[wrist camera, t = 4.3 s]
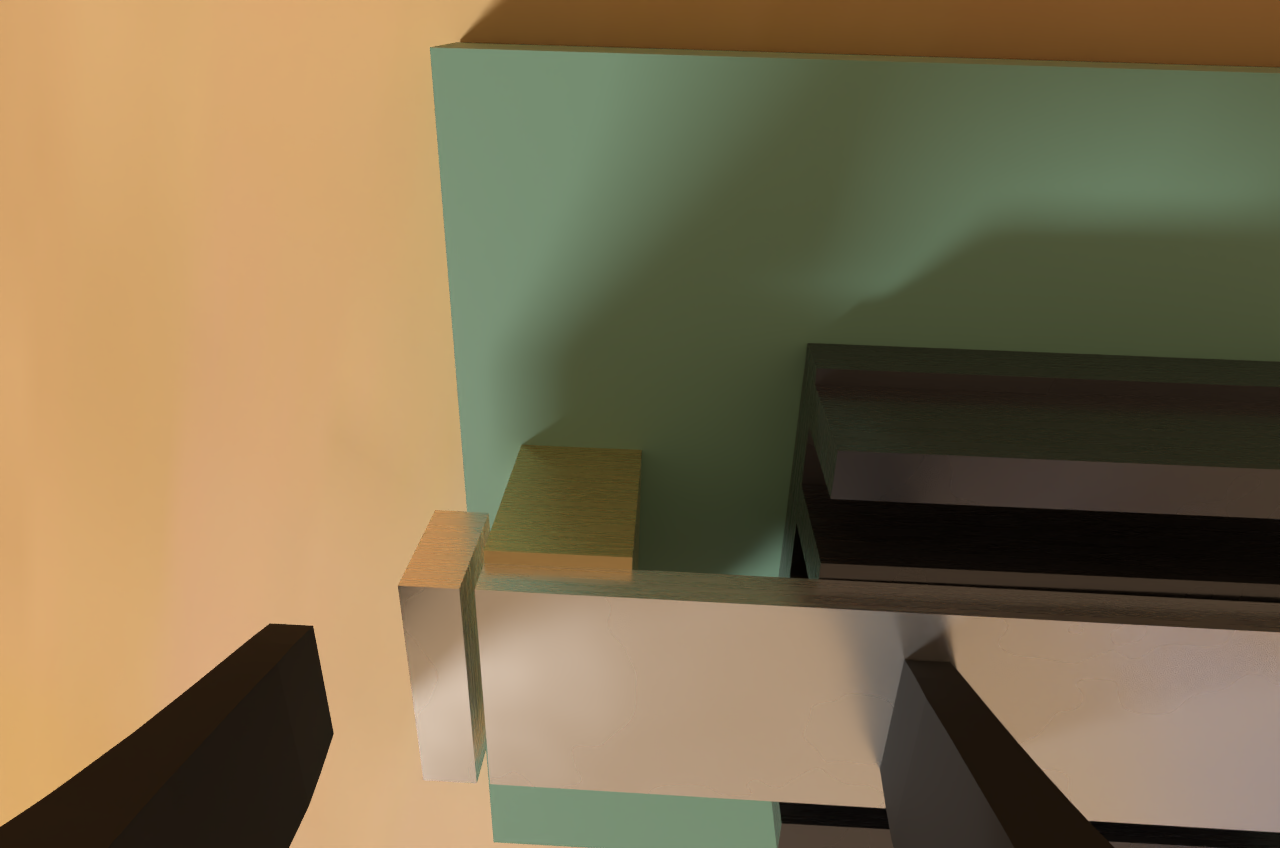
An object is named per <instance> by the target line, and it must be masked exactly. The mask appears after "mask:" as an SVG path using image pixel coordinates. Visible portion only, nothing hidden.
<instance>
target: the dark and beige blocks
mask: <svg viewBox="0 0 1280 848" xmlns="http://www.w3.org/2000/svg"><path fill="white" fill-rule="evenodd" d="M641 456H642V450H631V449H608V448H584V447H561V446H538V445H521V447H520V450H519V453H518V456H517V458H516V461H515V464H514V467H513V470H512V472H511V475H510V478H509V481H508V484H507V486H506V489H505V492H504V495H503V498H502V500H501V503H500V506H499V509H498V511H497V514H496V517H495V520H494V523H493V525H492V528H491V531H490V534H489V537H488V539H487V542H486V545H485V548H484V550H483V551H484V563H501V564H522V565H543V566H565V567H586V568H607V569H628V570H638V555H639V522H640V489H641ZM778 577H784V578H803V579H822V580H842V581H861V582H880V583H899V584H919V585H938V586H957V587H976V588H995V589H1015V590H1034V591H1053V592H1072V593H1092V594H1111V595H1130V596H1149V597H1168V598H1188V599H1207V600H1226V601H1245V602H1265V603H1280V362H1276V361H1251V360H1225V359H1200V358H1175V357H1150V356H1124V355H1099V354H1074V353H1049V352H1024V351H998V350H973V349H948V348H923V347H897V346H872V345H847V344H822V343H807V350H806V358H805V367H804V375H803V383H802V391H801V399H800V407H799V415H798V423H797V431H796V439H795V447H794V455H793V463H792V471H791V479H790V487H789V496H788V504H787V512H786V520H785V528H784V536H783V544H782V552H781V560H780V568H779V576H778ZM771 802H772V811H773V819H774V828H775V837H776V846H777V848H894V847H893V844H892V840H891V834H890V828H889V823H888V817H887V811H886V808H872V807H855V806H839V805H822V804H806V803H790V802H773V801H771ZM1089 822H1090V823H1091V824H1092V825H1093V826H1094V827H1095V828H1096V829H1097V830H1098V831H1099V832H1100V833H1101V834H1102V835H1103V836H1104V837H1105V838H1106V839H1107V840H1108V841H1109V842H1110V844H1111V845H1112V846H1113V847H1114V848H1280V832H1264V831H1247V830H1231V829H1215V828H1198V827H1182V826H1166V825H1149V824H1133V823H1117V822H1100V821H1089Z"/></svg>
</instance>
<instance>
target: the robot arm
mask: <svg viewBox="0 0 1280 848" xmlns="http://www.w3.org/2000/svg"><path fill="white" fill-rule="evenodd" d="M333 734H334V733H333V728H332V723H331V717H330V712H329V707H328V702H327V696H326V691H325V686H324V681H323V676H322V670H321V665H320V660H319V655H318V649H317V644H316V639H315V634H314V629H313V626H305V625H286V624H269V625H267V626H266V627H265V628H264V629H262V630H261V631H260V632H258V633H257V634H256V635H254V636H253V637H252V638H251V639H249V640H248V641H247V642H246V643H244V644H243V645H242V646H241V647H240V648H238V649H237V650H236V651H235V652H233V653H232V654H231V655H230V656H228V657H227V658H226V659H225V660H224V661H222V662H221V663H220V664H219V665H217V666H216V667H215V668H214V669H213V670H211V671H210V672H209V673H208V674H206V675H205V676H204V677H203V678H202V679H200V680H199V681H198V682H197V683H195V684H194V685H193V686H192V687H190V688H189V689H188V690H187V691H185V692H184V693H183V694H182V695H180V696H179V697H178V698H177V699H175V700H174V701H173V702H172V703H170V704H169V705H168V706H166V707H165V708H164V709H163V710H161V711H160V712H159V713H158V714H156V715H155V716H154V717H153V718H151V719H150V720H149V721H148V722H146V723H145V724H144V725H143V726H141V727H140V728H139V729H137V730H136V731H135V732H134V733H132V734H131V735H130V736H128V737H127V738H125V739H124V740H123V741H121V742H120V743H119V744H117V745H116V746H115V747H113V748H112V749H110V750H109V751H108V752H106V753H105V754H104V755H102V756H101V757H100V758H98V759H97V760H95V761H94V762H93V763H91V764H90V765H89V766H87V767H86V768H85V769H83V770H82V771H81V772H79V773H78V774H76V775H75V776H74V777H72V778H71V779H70V780H68V781H67V782H66V783H64V784H63V785H61V786H60V787H59V788H57V789H56V790H55V791H53V792H52V793H50V794H49V795H47V796H46V797H44V798H43V799H42V800H40V801H39V802H37V803H36V804H34V805H33V806H31V807H30V808H28V809H27V810H25V811H24V812H22V813H21V814H19V815H18V816H16V817H15V818H13V819H12V820H10V821H9V822H7V823H6V824H4V825H3V826H1V827H0V848H289V846H290V844H291V842H292V840H293V838H294V836H295V834H296V832H297V830H298V828H299V826H300V824H301V821H302V819H303V817H304V815H305V813H306V811H307V809H308V806H309V804H310V801H311V798H312V796H313V793H314V790H315V787H316V784H317V782H318V779H319V776H320V773H321V770H322V767H323V764H324V761H325V758H326V755H327V752H328V749H329V746H330V743H331V740H332V737H333ZM880 774H881V780H882V787H883V793H884V799H885V806H886V811H887V817H888V823H889V828H890V834H891V840H892V844H893V847H894V848H1114V847H1113V846H1112V845H1111V844H1110V842H1109V841H1108V840H1107V839H1106V838H1105V837H1104V836H1103V835H1102V834H1101V833H1100V832H1099V831H1098V830H1097V829H1096V828H1095V827H1094V826H1093V825H1092V824H1091V823H1090V822H1089V821H1088V820H1087V819H1086V818H1085V817H1084V816H1083V815H1082V813H1081V812H1080V811H1079V810H1078V809H1077V808H1076V807H1075V806H1074V805H1073V804H1072V803H1071V802H1070V801H1069V799H1068V798H1067V797H1066V796H1065V795H1064V794H1063V793H1062V792H1061V791H1060V789H1059V788H1058V787H1057V786H1056V785H1055V784H1054V783H1053V782H1052V780H1051V779H1050V778H1049V777H1048V776H1047V775H1046V774H1045V773H1044V772H1043V770H1042V769H1041V768H1040V767H1039V766H1038V765H1037V764H1036V763H1035V762H1034V760H1033V759H1032V758H1031V757H1030V756H1029V755H1028V753H1027V752H1026V751H1025V750H1024V749H1023V748H1022V747H1021V745H1020V744H1019V743H1018V742H1017V741H1016V740H1015V738H1014V737H1013V736H1012V735H1011V734H1010V732H1009V731H1008V730H1007V729H1006V728H1005V726H1004V725H1003V724H1002V723H1001V722H1000V721H999V719H998V718H997V717H996V716H995V715H994V713H993V712H992V711H991V710H990V709H989V707H988V706H987V705H986V704H985V703H984V701H983V700H982V699H981V698H980V697H979V695H978V694H977V693H976V692H975V690H974V689H973V688H972V687H971V686H970V684H969V683H968V682H967V681H966V680H965V678H964V677H963V676H962V675H961V674H960V672H959V671H958V670H957V669H956V668H955V667H954V666H953V664H952V663H951V662H943V661H923V660H904V663H903V668H902V672H901V677H900V681H899V686H898V690H897V695H896V699H895V704H894V708H893V713H892V717H891V722H890V726H889V731H888V735H887V740H886V744H885V749H884V753H883V758H882V762H881V767H880Z"/></svg>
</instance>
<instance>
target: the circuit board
mask: <svg viewBox="0 0 1280 848" xmlns="http://www.w3.org/2000/svg"><path fill="white" fill-rule="evenodd" d="M430 54H431V66H432V79H433V91H434V104H435V116H436V129H437V141H438V154H439V166H440V179H441V191H442V204H443V216H444V228H445V241H446V253H447V266H448V278H449V291H450V303H451V316H452V328H453V341H454V353H455V366H456V378H457V390H458V403H459V415H460V428H461V440H462V453H463V465H464V478H465V490H466V503H467V512H481V513H489V523H490V531H491V528H492V525H493V523H494V520H495V517H496V514H497V511H498V509H499V506H500V503H501V500H502V498H503V495H504V492H505V489H506V486H507V484H508V481H509V478H510V475H511V472H512V470H513V467H514V464H515V461H516V458H517V456H518V453H519V450H520V447H521V445H538V446H561V447H584V448H608V449H631V450H642V456H641V489H640V522H639V555H638V570H649V571H669V572H688V573H707V574H726V575H746V576H765V577H778V576H779V568H780V560H781V552H782V544H783V536H784V528H785V520H786V512H787V504H788V496H789V487H790V479H791V471H792V463H793V455H794V447H795V439H796V431H797V423H798V415H799V407H800V399H801V391H802V383H803V375H804V367H805V358H806V350H807V343H822V344H847V345H872V346H897V347H923V348H948V349H973V350H998V351H1024V352H1049V353H1074V354H1099V355H1124V356H1150V357H1175V358H1200V359H1225V360H1251V361H1276V362H1280V67H1251V66H1218V65H1185V64H1152V63H1119V62H1086V61H1053V60H1020V59H987V58H954V57H921V56H888V55H855V54H822V53H789V52H755V51H722V50H689V49H656V48H623V47H590V46H557V45H524V44H491V43H458V42H456V43H451V44H446V45H440V46H435V47H430ZM486 752H487V747H486ZM487 764H488V752H487ZM488 777H489V765H488ZM489 789H490V802H491V814H492V827H493V839H494V842H500V843H517V844H535V845H553V846H571V847H588V848H777V846H776V837H775V828H774V819H773V811H772V802H771V801H757V800H741V799H724V798H708V797H692V796H675V795H659V794H643V793H626V792H610V791H594V790H577V789H561V788H545V787H528V786H512V785H496V784H490V777H489Z"/></svg>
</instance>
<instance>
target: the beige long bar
mask: <svg viewBox="0 0 1280 848" xmlns="http://www.w3.org/2000/svg"><path fill="white" fill-rule="evenodd" d="M489 534H490V523H489V513H481V512H461V511H441V510H435V512H434V514H433V516H432V518H431V520H430V522H429V524H428V526H427V528H426V530H425V532H424V534H423V536H422V538H421V540H420V542H419V544H418V546H417V548H416V550H415V552H414V554H413V556H412V558H411V560H410V562H409V564H408V566H407V568H406V570H405V572H404V574H403V577H402V579H401V581H400V583H399V585H398V590H399V597H400V605H401V613H402V620H403V628H404V636H405V643H406V651H407V658H408V666H409V674H410V681H411V689H412V697H413V704H414V712H415V720H416V727H417V735H418V743H419V750H420V758H421V766H422V773H423V780H430V781H447V782H463V783H477V780H478V777H479V773H480V769H481V766H482V762H483V758H484V754H485V751H486V747H487V752H488V765H489V777H490V784H496V785H512V786H528V787H545V788H561V789H577V790H594V791H610V792H626V793H643V794H659V795H675V796H692V797H708V798H724V799H741V800H757V801H773V802H790V803H806V804H822V805H839V806H855V807H872V808H886V806H885V799H884V793H883V787H882V780H881V774H880V767H881V762H882V758H883V753H884V749H885V744H886V740H887V735H888V731H889V726H890V722H891V717H892V713H893V708H894V704H895V699H896V695H897V690H898V686H899V681H900V677H901V672H902V668H903V663H904V660H923V661H943V662H951V663H952V664H953V666H954V667H955V668H956V669H957V670H958V671H959V672H960V674H961V675H962V676H963V677H964V678H965V680H966V681H967V682H968V683H969V684H970V686H971V687H972V688H973V689H974V690H975V692H976V693H977V694H978V695H979V697H980V698H981V699H982V700H983V701H984V703H985V704H986V705H987V706H988V707H989V709H990V710H991V711H992V712H993V713H994V715H995V716H996V717H997V718H998V719H999V721H1000V722H1001V723H1002V724H1003V725H1004V726H1005V728H1006V729H1007V730H1008V731H1009V732H1010V734H1011V735H1012V736H1013V737H1014V738H1015V740H1016V741H1017V742H1018V743H1019V744H1020V745H1021V747H1022V748H1023V749H1024V750H1025V751H1026V752H1027V753H1028V755H1029V756H1030V757H1031V758H1032V759H1033V760H1034V762H1035V763H1036V764H1037V765H1038V766H1039V767H1040V768H1041V769H1042V770H1043V772H1044V773H1045V774H1046V775H1047V776H1048V777H1049V778H1050V779H1051V780H1052V782H1053V783H1054V784H1055V785H1056V786H1057V787H1058V788H1059V789H1060V791H1061V792H1062V793H1063V794H1064V795H1065V796H1066V797H1067V798H1068V799H1069V801H1070V802H1071V803H1072V804H1073V805H1074V806H1075V807H1076V808H1077V809H1078V810H1079V811H1080V812H1081V813H1082V815H1083V816H1084V817H1085V818H1086V819H1087V820H1088V821H1100V822H1117V823H1133V824H1149V825H1166V826H1182V827H1198V828H1215V829H1231V830H1247V831H1264V832H1280V603H1265V602H1245V601H1226V600H1207V599H1188V598H1168V597H1149V596H1130V595H1111V594H1092V593H1072V592H1053V591H1034V590H1015V589H995V588H976V587H957V586H938V585H919V584H899V583H880V582H861V581H842V580H822V579H803V578H784V577H765V576H746V575H726V574H707V573H688V572H669V571H649V570H628V569H607V568H586V567H565V566H543V565H522V564H501V563H484V551H483V550H484V548H485V545H486V542H487V539H488V537H489Z"/></svg>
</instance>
